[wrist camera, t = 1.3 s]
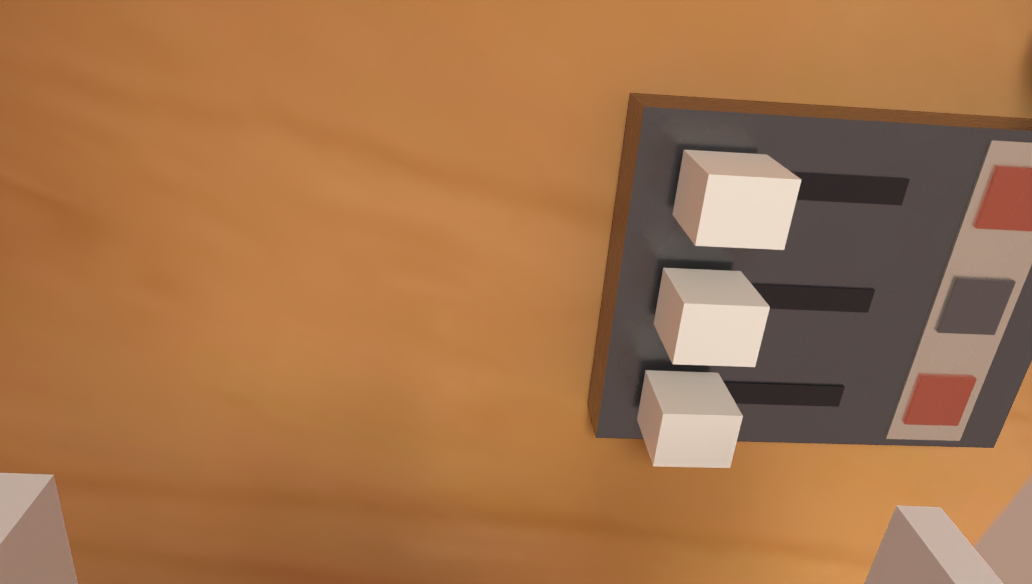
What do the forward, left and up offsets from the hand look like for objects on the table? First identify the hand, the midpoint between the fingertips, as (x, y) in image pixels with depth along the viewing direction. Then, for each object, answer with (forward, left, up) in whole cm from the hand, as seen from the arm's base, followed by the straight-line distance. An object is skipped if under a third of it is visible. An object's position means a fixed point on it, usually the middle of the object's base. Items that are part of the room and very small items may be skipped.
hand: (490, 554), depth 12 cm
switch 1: (-2, +9, -16) cm, 18 cm away
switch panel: (+3, +15, -19) cm, 24 cm away
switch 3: (+7, +9, -16) cm, 20 cm away
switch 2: (+3, +9, -16) cm, 18 cm away
